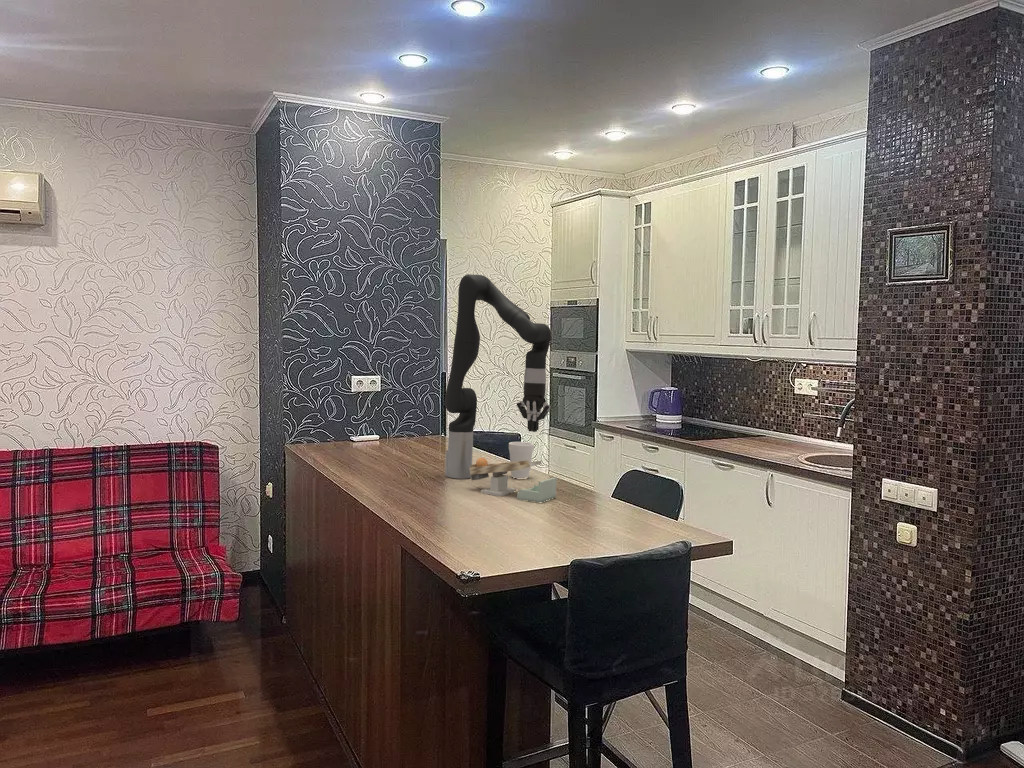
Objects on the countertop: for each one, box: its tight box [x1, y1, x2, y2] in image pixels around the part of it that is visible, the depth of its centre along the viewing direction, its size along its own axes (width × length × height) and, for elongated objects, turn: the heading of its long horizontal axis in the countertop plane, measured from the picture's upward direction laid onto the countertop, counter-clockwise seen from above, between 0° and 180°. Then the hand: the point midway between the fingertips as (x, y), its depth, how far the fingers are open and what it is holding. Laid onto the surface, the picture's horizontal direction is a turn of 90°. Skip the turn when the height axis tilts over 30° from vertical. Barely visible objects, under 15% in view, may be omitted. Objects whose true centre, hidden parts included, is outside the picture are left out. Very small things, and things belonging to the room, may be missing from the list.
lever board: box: [469, 460, 542, 481], centre depth 273 cm, size 20×15×5 cm
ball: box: [475, 457, 489, 467], centre depth 273 cm, size 4×4×4 cm
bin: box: [516, 477, 557, 503], centre depth 262 cm, size 9×10×7 cm
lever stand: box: [480, 474, 517, 497], centre depth 270 cm, size 8×10×6 cm
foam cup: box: [508, 441, 535, 478], centre depth 296 cm, size 10×9×13 cm
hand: (532, 431), depth 272 cm, fingers closed
